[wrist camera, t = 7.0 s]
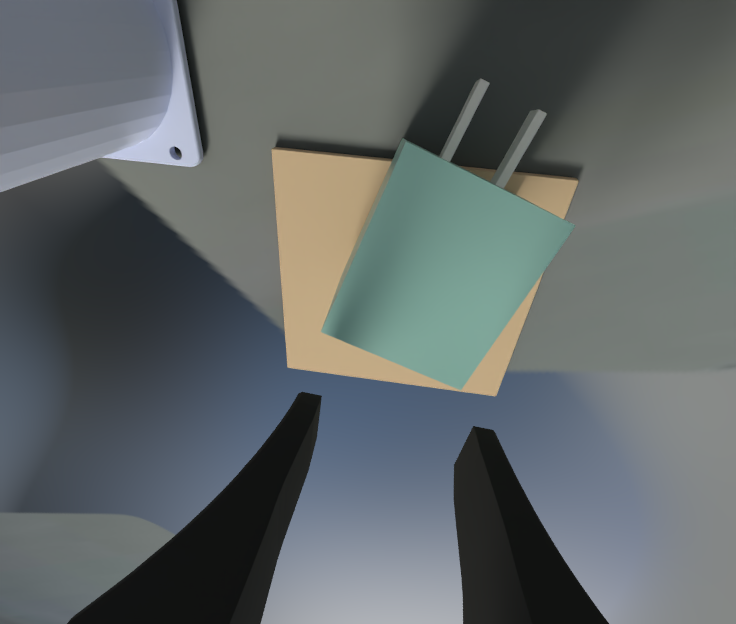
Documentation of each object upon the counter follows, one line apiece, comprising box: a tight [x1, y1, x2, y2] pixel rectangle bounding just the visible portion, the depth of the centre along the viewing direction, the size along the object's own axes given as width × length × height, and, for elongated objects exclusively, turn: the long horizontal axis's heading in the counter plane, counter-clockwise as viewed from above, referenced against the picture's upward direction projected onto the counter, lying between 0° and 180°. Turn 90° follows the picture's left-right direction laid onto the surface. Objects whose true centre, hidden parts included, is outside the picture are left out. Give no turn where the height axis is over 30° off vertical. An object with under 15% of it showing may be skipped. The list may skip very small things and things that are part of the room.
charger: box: [321, 79, 575, 390], centre depth 13 cm, size 5×8×6 cm, turn 157°
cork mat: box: [272, 147, 579, 396], centre depth 19 cm, size 12×12×1 cm
